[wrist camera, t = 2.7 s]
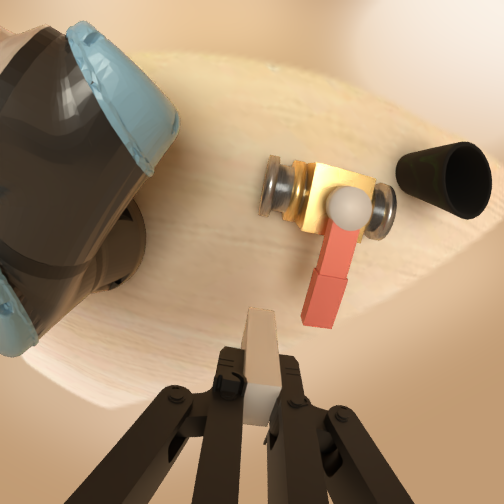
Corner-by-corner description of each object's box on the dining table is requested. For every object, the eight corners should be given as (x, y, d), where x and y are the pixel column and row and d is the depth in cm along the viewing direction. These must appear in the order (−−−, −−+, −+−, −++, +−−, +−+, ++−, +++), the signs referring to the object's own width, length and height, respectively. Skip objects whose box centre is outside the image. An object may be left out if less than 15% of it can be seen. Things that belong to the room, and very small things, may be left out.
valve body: (258, 210, 34) (258, 226, 24) (268, 156, 32) (273, 150, 22) (365, 233, 34) (400, 256, 25) (377, 183, 32) (417, 190, 23)
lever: (330, 181, 23) (336, 182, 21) (367, 191, 23) (376, 193, 21) (296, 315, 27) (299, 325, 25) (331, 320, 27) (335, 330, 25)
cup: (438, 196, 32) (495, 210, 21) (395, 208, 33) (448, 227, 22) (427, 142, 30) (485, 138, 19) (382, 150, 31) (435, 146, 20)
